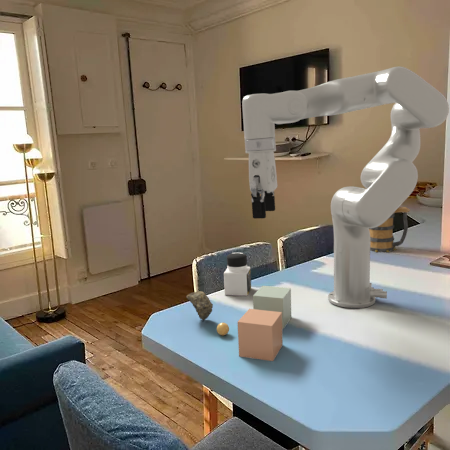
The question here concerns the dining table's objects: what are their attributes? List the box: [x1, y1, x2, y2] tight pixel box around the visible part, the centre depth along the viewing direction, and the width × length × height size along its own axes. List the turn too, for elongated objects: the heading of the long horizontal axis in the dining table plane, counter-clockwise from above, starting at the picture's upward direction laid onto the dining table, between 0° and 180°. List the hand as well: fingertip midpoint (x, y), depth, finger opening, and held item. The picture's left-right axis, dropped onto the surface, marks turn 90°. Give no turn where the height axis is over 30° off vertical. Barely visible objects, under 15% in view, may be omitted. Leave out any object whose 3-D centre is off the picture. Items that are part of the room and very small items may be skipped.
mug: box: [369, 206, 411, 253], centre depth 172 cm, size 13×17×20 cm
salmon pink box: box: [237, 308, 284, 362], centre depth 97 cm, size 8×8×8 cm
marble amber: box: [216, 322, 230, 336], centre depth 106 cm, size 3×3×3 cm
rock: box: [186, 290, 214, 321], centre depth 114 cm, size 7×8×4 cm
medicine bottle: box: [223, 252, 252, 297], centre depth 135 cm, size 7×7×12 cm
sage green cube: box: [252, 285, 292, 330], centre depth 112 cm, size 8×8×8 cm
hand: (264, 214), depth 112 cm, fingers open, 9 cm apart
